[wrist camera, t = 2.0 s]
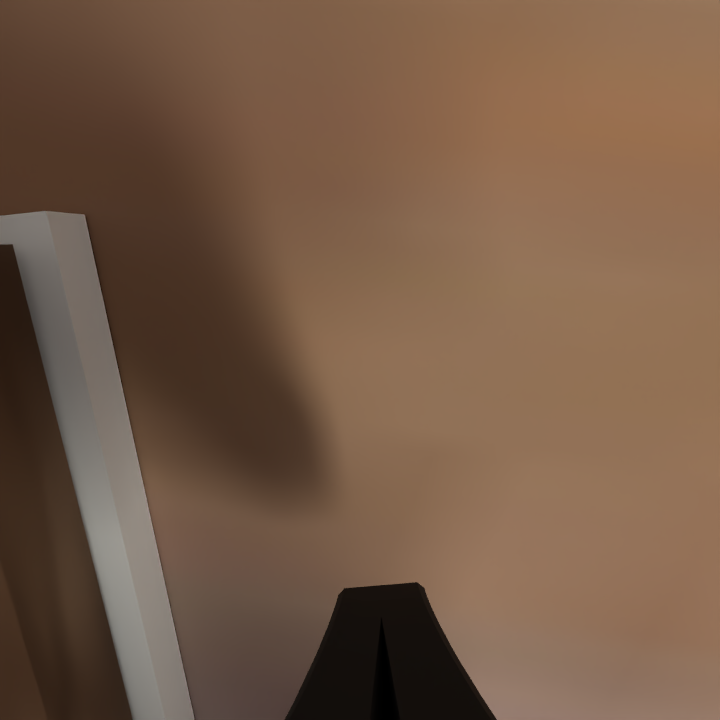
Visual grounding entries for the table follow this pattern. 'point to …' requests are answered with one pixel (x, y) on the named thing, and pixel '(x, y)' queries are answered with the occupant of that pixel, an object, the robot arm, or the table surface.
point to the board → (101, 454)
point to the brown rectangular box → (44, 547)
